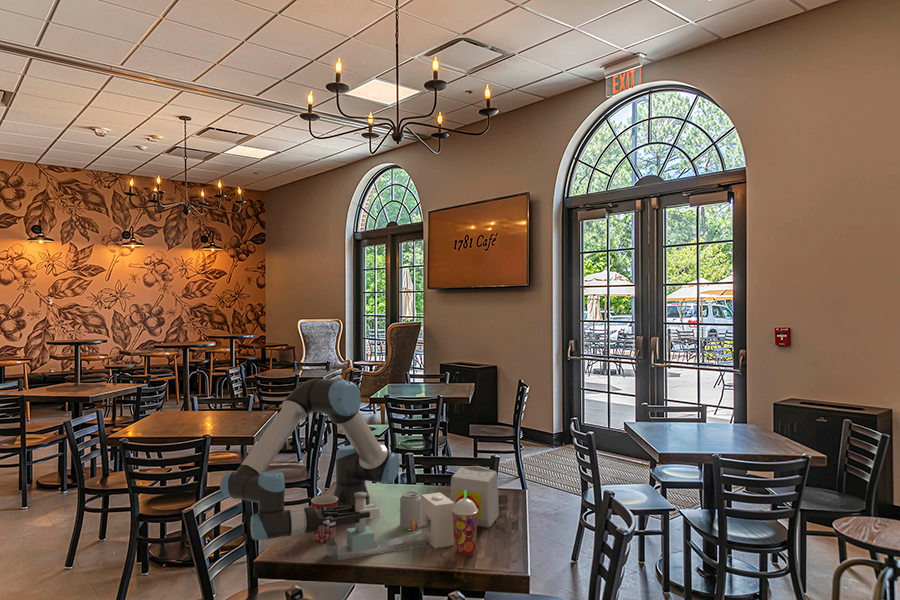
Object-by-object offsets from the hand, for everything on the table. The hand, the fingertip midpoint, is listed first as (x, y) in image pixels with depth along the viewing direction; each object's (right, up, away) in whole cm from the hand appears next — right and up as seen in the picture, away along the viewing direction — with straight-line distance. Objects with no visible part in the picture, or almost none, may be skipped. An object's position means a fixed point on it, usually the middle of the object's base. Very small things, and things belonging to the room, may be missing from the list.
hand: (376, 510), depth 193 cm
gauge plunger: (+15, -9, +7) cm, 19 cm away
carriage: (-5, -11, -2) cm, 12 cm away
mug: (-19, -13, +11) cm, 26 cm away
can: (+10, -14, +21) cm, 27 cm away
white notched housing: (+19, -13, +9) cm, 25 cm away
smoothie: (+29, -13, -1) cm, 32 cm away
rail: (0, -13, 0) cm, 13 cm away
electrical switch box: (+32, -14, +25) cm, 43 cm away
